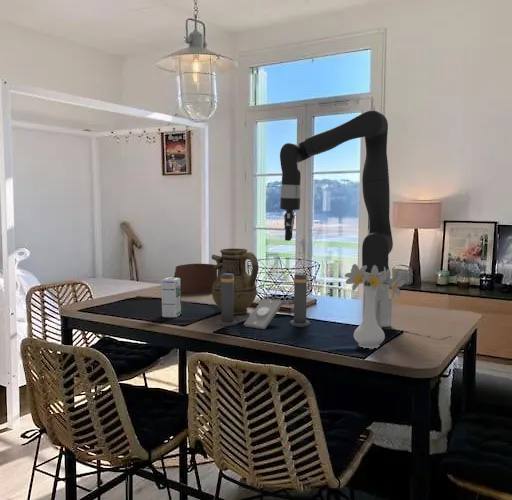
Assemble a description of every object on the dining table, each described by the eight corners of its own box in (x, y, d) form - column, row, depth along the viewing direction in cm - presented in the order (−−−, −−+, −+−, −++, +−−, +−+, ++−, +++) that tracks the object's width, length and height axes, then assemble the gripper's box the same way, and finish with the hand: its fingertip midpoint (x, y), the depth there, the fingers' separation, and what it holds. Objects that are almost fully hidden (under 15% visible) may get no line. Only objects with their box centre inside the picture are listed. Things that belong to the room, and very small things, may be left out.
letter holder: (217, 292, 255) (217, 263, 254) (175, 294, 251) (175, 264, 249) (214, 289, 265) (214, 260, 264) (173, 290, 260) (173, 261, 259)
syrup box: (176, 317, 201) (175, 279, 199) (161, 317, 202) (161, 279, 201) (181, 314, 206) (181, 277, 205) (167, 313, 208) (166, 276, 206)
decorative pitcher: (269, 312, 211) (270, 249, 209) (243, 320, 197) (243, 253, 194) (226, 305, 224) (226, 246, 221) (198, 313, 209) (198, 249, 207)
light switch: (242, 321, 188) (261, 296, 198) (247, 334, 190) (265, 309, 200) (263, 325, 183) (281, 299, 193) (267, 338, 186) (285, 312, 196)
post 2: (313, 325, 190) (314, 275, 189) (298, 327, 186) (299, 276, 185) (301, 321, 196) (301, 272, 194) (286, 323, 192) (286, 274, 190)
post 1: (241, 324, 191) (241, 274, 189) (224, 327, 187) (224, 276, 185) (230, 320, 197) (230, 272, 195) (214, 323, 192) (214, 273, 191)
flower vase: (395, 356, 153) (397, 270, 151) (335, 347, 162) (336, 265, 160) (407, 345, 164) (410, 265, 162) (350, 337, 174) (352, 261, 171)
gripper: (299, 197, 194) (297, 241, 196) (301, 197, 208) (299, 238, 210) (279, 196, 195) (277, 240, 197) (281, 196, 209) (280, 237, 211)
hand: (288, 239), depth 204 cm, fingers open, 8 cm apart
